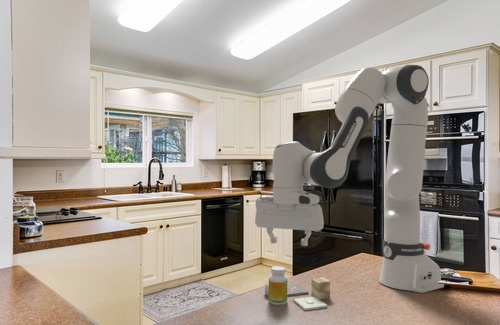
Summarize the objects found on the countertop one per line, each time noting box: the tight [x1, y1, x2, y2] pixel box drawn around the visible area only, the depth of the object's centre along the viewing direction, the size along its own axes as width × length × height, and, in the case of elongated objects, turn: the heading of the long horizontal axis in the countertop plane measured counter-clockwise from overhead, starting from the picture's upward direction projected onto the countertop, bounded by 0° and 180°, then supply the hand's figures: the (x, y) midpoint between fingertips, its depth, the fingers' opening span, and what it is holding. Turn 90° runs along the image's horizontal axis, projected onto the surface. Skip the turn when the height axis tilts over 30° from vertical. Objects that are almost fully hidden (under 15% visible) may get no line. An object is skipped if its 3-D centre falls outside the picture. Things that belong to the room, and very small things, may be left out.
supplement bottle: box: [268, 265, 288, 306], centre depth 102 cm, size 5×5×10 cm
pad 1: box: [287, 284, 309, 297], centre depth 111 cm, size 7×7×1 cm
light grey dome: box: [264, 281, 269, 298], centre depth 108 cm, size 5×5×3 cm
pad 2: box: [293, 296, 328, 311], centre depth 101 cm, size 7×7×1 cm
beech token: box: [311, 276, 331, 300], centre depth 107 cm, size 4×4×5 cm
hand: (288, 244), depth 104 cm, fingers open, 8 cm apart
